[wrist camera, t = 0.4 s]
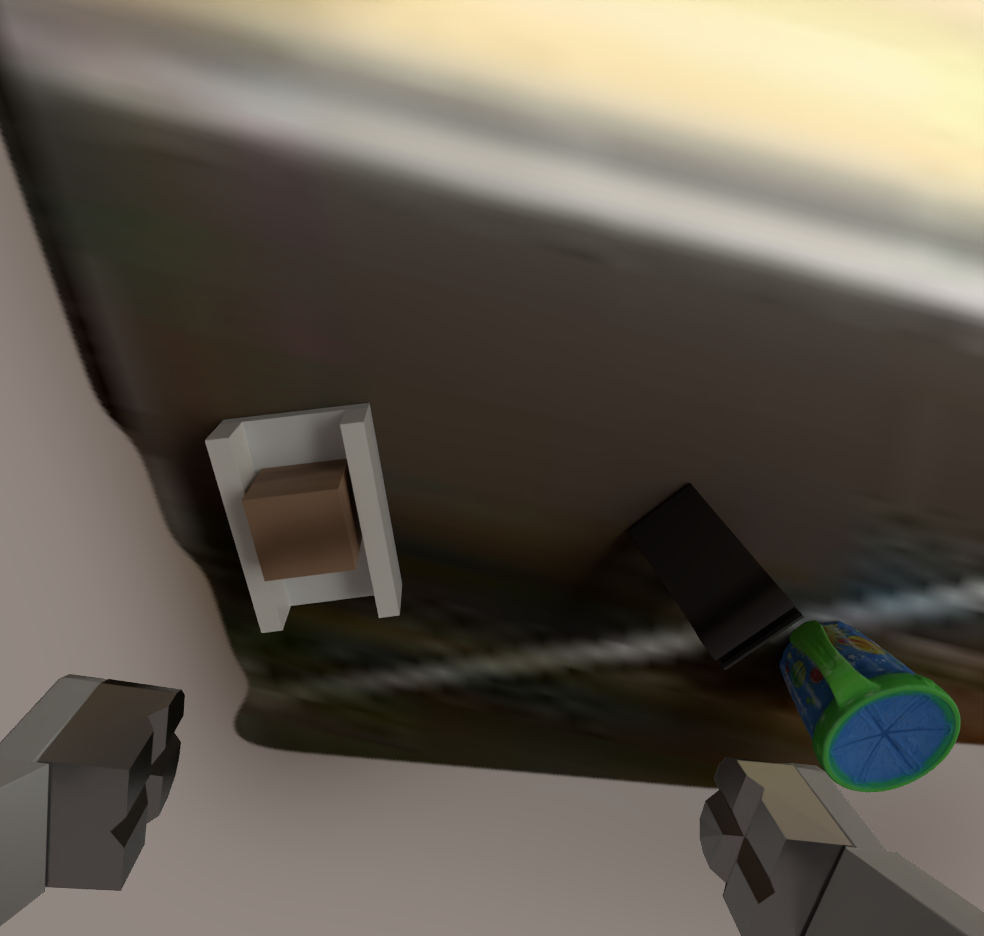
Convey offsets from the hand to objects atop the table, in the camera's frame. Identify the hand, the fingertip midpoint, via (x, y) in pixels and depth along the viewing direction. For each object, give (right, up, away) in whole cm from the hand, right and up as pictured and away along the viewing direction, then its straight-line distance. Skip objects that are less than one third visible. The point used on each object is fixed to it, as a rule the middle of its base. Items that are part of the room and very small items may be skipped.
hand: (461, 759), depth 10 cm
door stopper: (+16, -1, +42) cm, 45 cm away
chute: (-12, +1, +38) cm, 40 cm away
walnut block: (-12, +2, +36) cm, 38 cm away
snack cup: (+29, -12, +48) cm, 57 cm away
